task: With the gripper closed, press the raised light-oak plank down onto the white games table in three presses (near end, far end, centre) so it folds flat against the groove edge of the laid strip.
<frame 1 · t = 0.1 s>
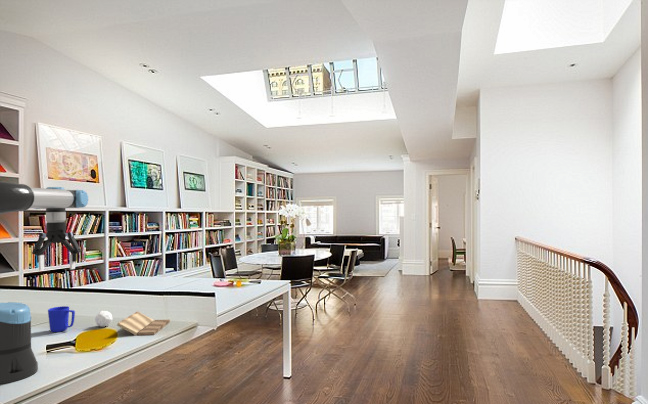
hand: (57, 269, 191), 28 cm above the table, fingers open, 13 cm apart
mug: (62, 331, 194), on the table
laid strip: (144, 328, 193), on the table
ornament: (104, 326, 199), on the table
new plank: (136, 322, 193), point 3 cm above the table, hinge at 30.0°
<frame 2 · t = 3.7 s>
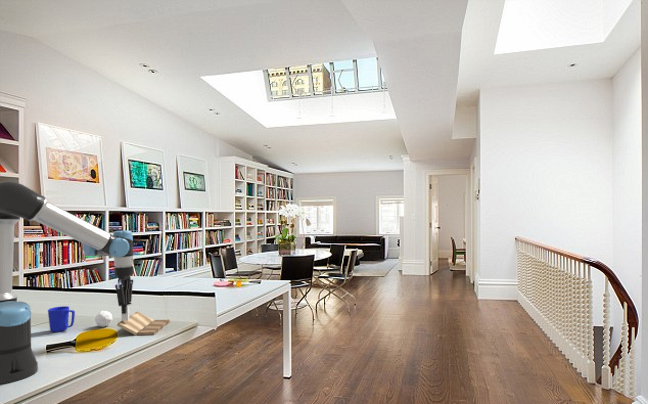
hand: (125, 320, 186), 6 cm above the table, fingers closed
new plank: (136, 322, 193), point 3 cm above the table, hinge at 29.8°, touching gripper
everything else where it was.
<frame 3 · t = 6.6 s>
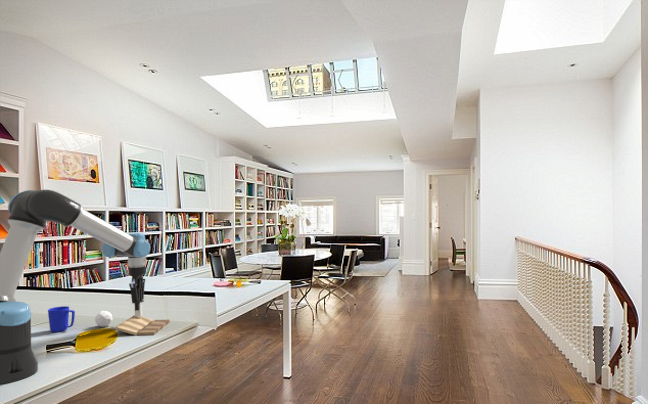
hand: (138, 316, 200), 4 cm above the table, fingers closed
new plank: (135, 324, 193), point 2 cm above the table, hinge at 17.6°, touching gripper
everything else where it was.
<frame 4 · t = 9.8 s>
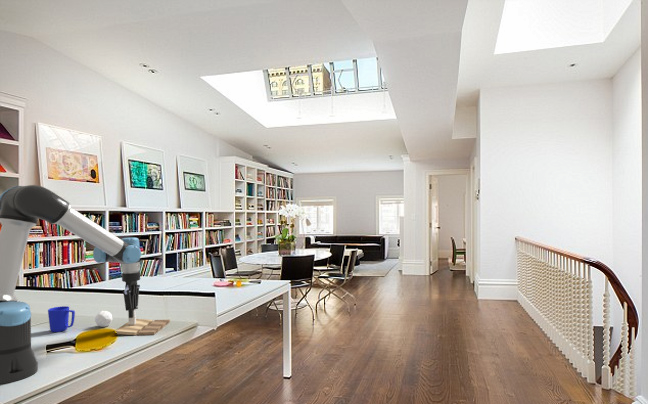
hand: (132, 324, 193), 2 cm above the table, fingers closed
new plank: (134, 326, 193), point 1 cm above the table, hinge at 5.9°, touching gripper
everything else where it was.
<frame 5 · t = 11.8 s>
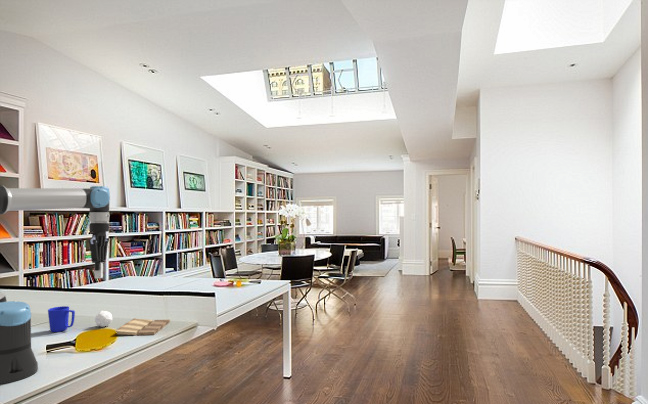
hand: (98, 278, 182), 25 cm above the table, fingers closed
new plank: (134, 326, 193), point 1 cm above the table, hinge at 5.8°
everything else where it was.
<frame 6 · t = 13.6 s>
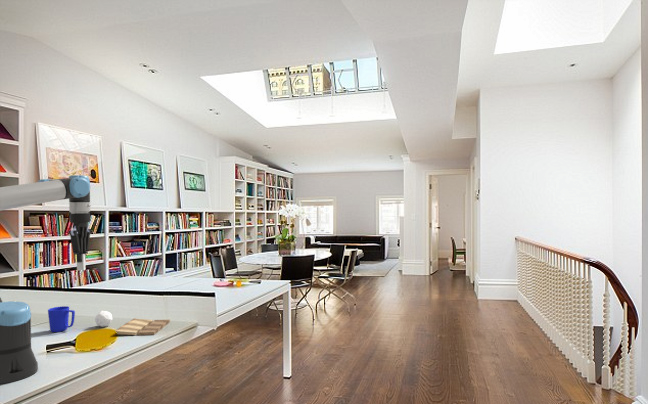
hand: (81, 269, 177), 29 cm above the table, fingers closed
nothing on the table moved.
at the end: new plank at +6° (first picture: +30°); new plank touching nothing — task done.
